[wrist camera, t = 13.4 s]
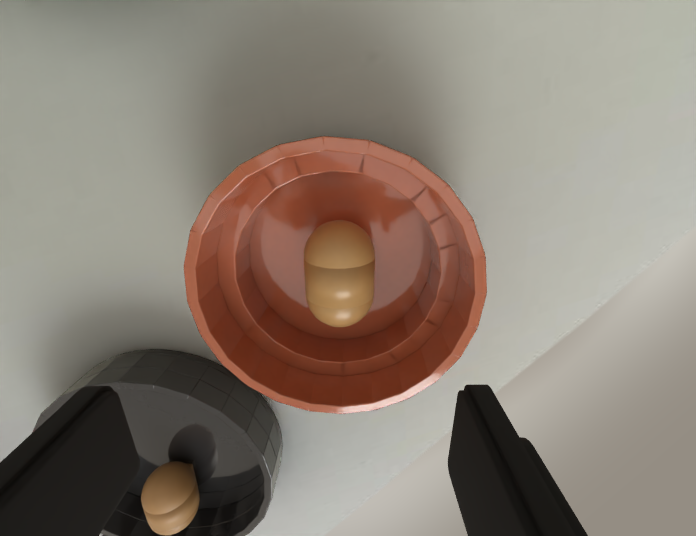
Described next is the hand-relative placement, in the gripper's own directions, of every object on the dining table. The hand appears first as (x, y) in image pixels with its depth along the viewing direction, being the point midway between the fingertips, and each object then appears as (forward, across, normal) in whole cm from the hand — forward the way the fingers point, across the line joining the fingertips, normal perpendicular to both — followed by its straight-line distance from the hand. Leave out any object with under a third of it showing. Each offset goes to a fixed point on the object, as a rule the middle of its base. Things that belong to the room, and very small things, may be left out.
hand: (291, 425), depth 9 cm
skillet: (+14, +13, +17) cm, 26 cm away
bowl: (+14, -1, 0) cm, 14 cm away
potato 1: (+14, +13, +21) cm, 28 cm away
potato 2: (+13, -1, 0) cm, 13 cm away
